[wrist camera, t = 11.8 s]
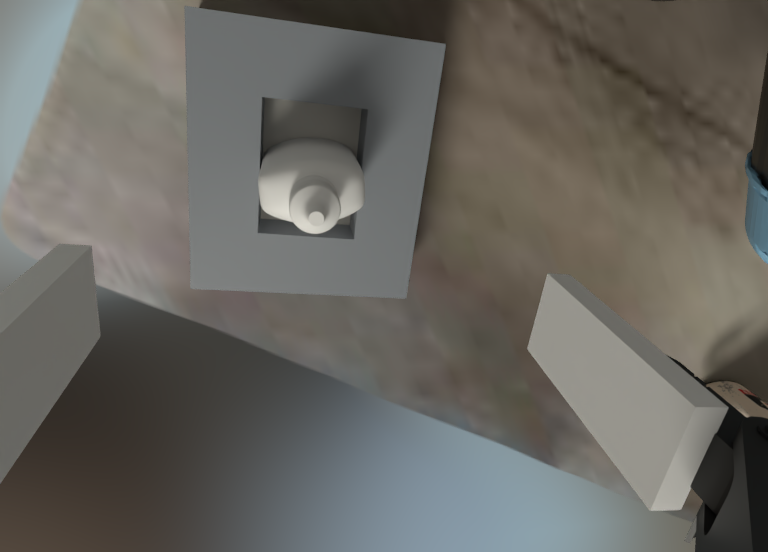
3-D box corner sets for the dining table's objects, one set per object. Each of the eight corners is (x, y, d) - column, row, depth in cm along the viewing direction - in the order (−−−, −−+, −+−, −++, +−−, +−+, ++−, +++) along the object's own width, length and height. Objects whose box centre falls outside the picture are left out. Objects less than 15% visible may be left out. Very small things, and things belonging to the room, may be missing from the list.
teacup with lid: (760, 419, 52) (879, 514, 41) (680, 466, 53) (776, 571, 42) (728, 338, 47) (854, 423, 36) (640, 392, 48) (738, 490, 37)
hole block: (197, 10, 30) (184, 5, 26) (429, 44, 33) (446, 44, 29) (201, 264, 36) (190, 288, 33) (395, 275, 39) (406, 298, 35)
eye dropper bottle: (332, 211, 35) (349, 284, 24) (254, 173, 33) (235, 234, 22) (362, 153, 34) (395, 203, 23) (283, 111, 32) (278, 144, 21)
